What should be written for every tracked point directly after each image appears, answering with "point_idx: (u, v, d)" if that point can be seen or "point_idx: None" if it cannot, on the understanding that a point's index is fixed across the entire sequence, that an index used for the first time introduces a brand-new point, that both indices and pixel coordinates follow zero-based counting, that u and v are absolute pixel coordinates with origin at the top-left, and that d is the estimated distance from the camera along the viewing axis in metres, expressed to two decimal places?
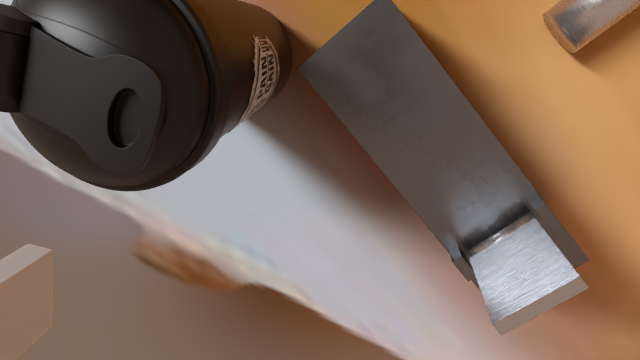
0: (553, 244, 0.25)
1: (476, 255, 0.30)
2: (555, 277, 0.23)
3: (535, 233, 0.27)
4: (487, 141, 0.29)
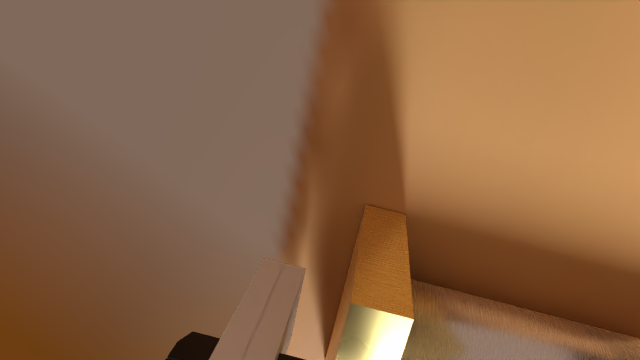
0: None
1: None
2: None
3: None
4: None
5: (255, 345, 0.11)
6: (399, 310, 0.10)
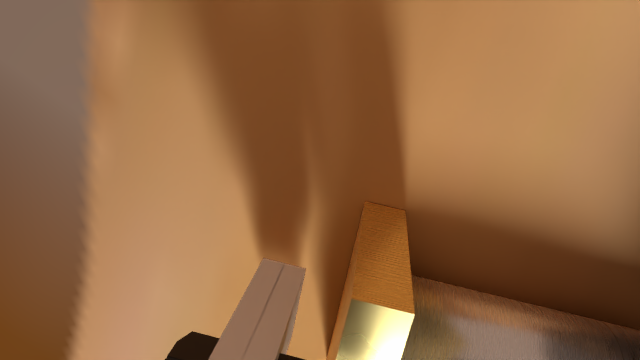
0: None
1: None
2: None
3: None
4: None
5: (254, 345, 0.11)
6: (400, 305, 0.10)
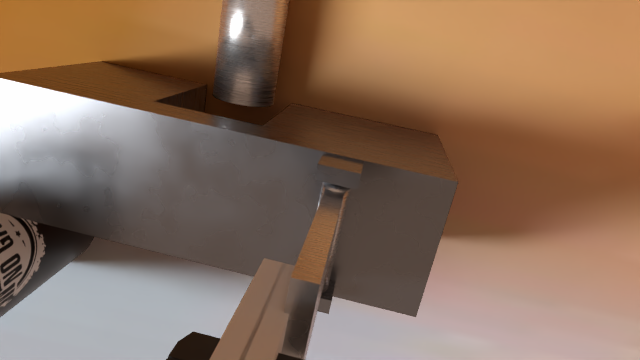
0: (311, 226, 0.15)
1: None
2: None
3: None
4: (215, 139, 0.20)
5: (255, 345, 0.11)
6: None
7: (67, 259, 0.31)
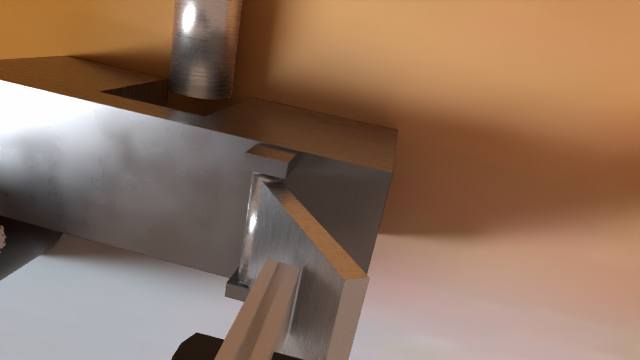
0: (295, 224, 0.15)
1: (248, 273, 0.20)
2: (325, 292, 0.13)
3: (273, 210, 0.17)
4: (152, 128, 0.20)
5: (259, 346, 0.11)
6: None
7: (33, 252, 0.32)
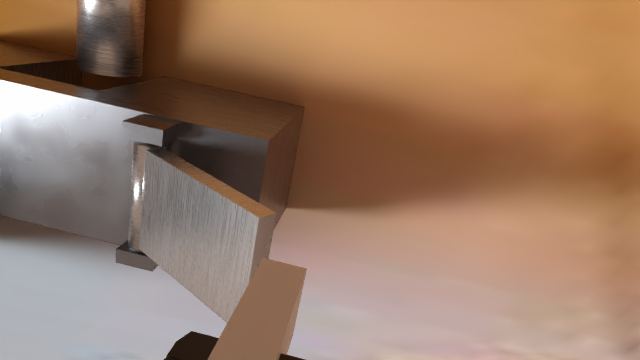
0: (196, 182, 0.17)
1: (141, 240, 0.21)
2: (239, 232, 0.16)
3: (166, 174, 0.18)
4: (41, 101, 0.21)
5: (254, 345, 0.11)
6: None
7: None
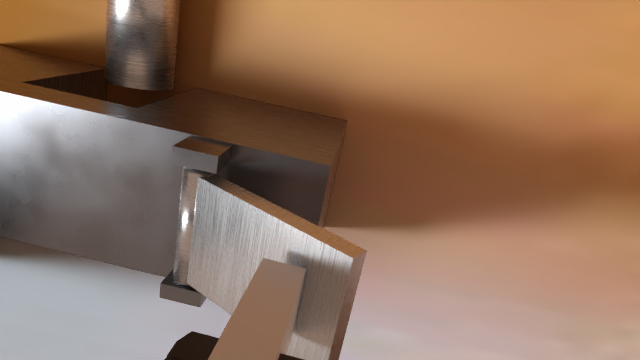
0: (268, 216, 0.16)
1: (190, 274, 0.19)
2: (325, 273, 0.15)
3: (226, 205, 0.17)
4: (76, 121, 0.19)
5: (254, 345, 0.11)
6: None
7: None
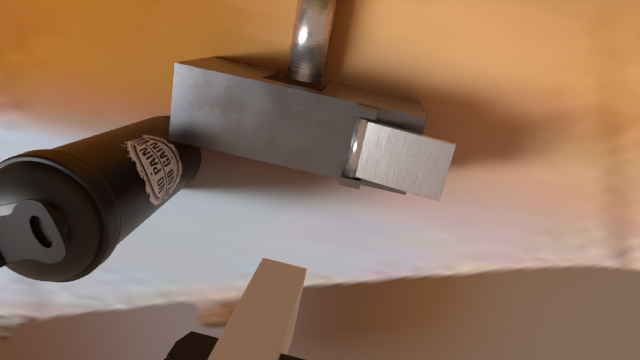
0: (411, 134, 0.36)
1: (358, 171, 0.39)
2: (441, 154, 0.36)
3: (386, 133, 0.37)
4: (299, 96, 0.39)
5: (254, 345, 0.11)
6: None
7: (186, 181, 0.50)
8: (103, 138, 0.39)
